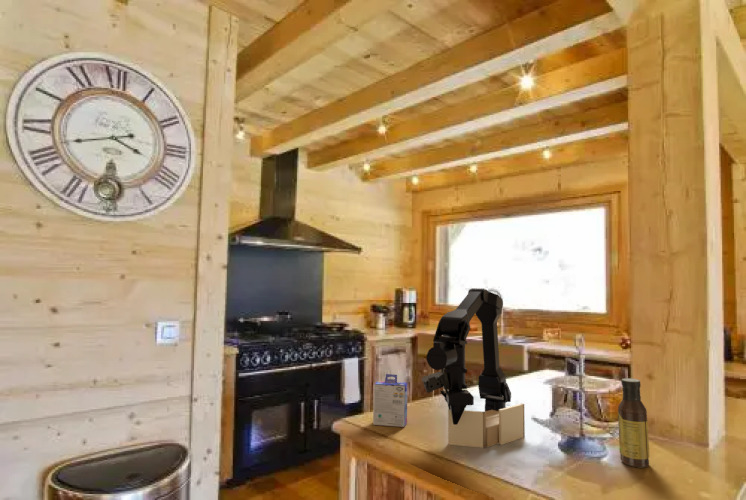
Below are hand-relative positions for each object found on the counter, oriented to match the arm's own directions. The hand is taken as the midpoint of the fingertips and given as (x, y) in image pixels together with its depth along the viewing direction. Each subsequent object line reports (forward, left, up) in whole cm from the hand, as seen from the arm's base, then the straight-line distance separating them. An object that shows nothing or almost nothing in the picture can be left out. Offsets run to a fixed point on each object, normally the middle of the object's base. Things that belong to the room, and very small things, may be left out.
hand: (454, 422), depth 120 cm
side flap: (-16, +7, -6) cm, 18 cm away
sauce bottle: (-26, +34, -6) cm, 43 cm away
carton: (-14, +1, -6) cm, 15 cm away
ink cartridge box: (+2, -24, -6) cm, 25 cm away
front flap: (-3, +2, -6) cm, 7 cm away
